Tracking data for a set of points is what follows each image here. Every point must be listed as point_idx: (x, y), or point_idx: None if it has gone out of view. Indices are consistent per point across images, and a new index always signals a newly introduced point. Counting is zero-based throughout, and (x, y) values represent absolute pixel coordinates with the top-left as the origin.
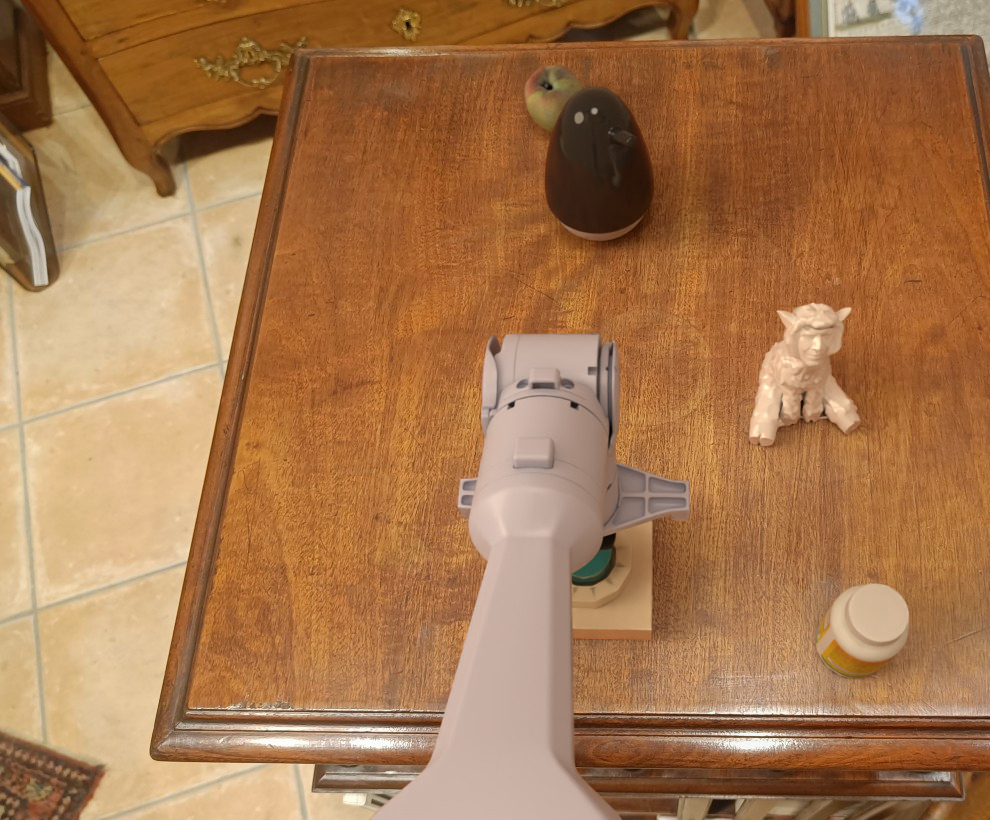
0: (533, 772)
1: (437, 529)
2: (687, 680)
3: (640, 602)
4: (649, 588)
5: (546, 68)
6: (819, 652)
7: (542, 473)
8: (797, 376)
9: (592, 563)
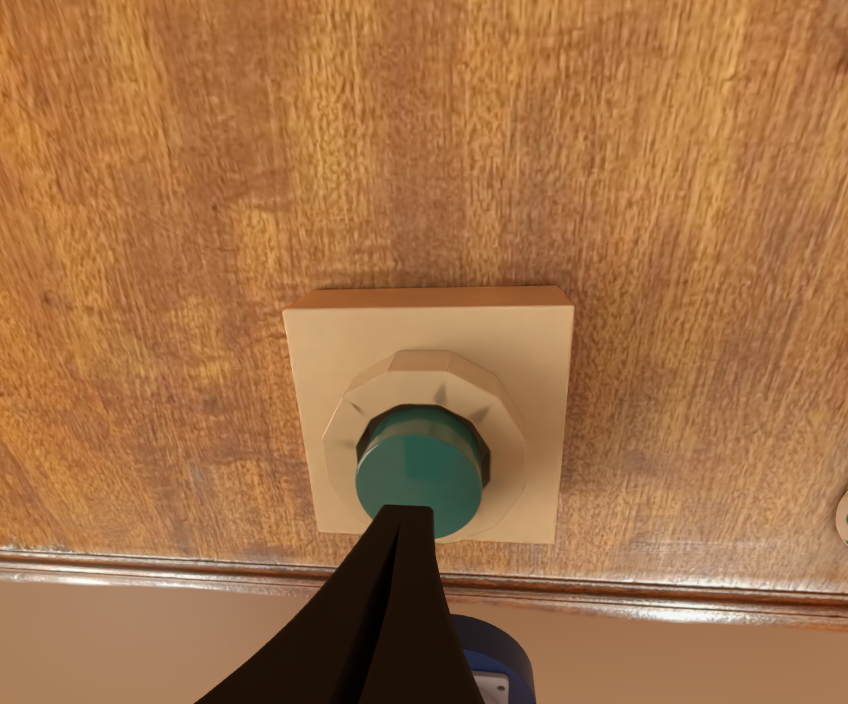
0: None
1: (155, 319)
2: (596, 543)
3: (536, 504)
4: (555, 480)
5: None
6: (845, 535)
7: None
8: None
9: (439, 516)
